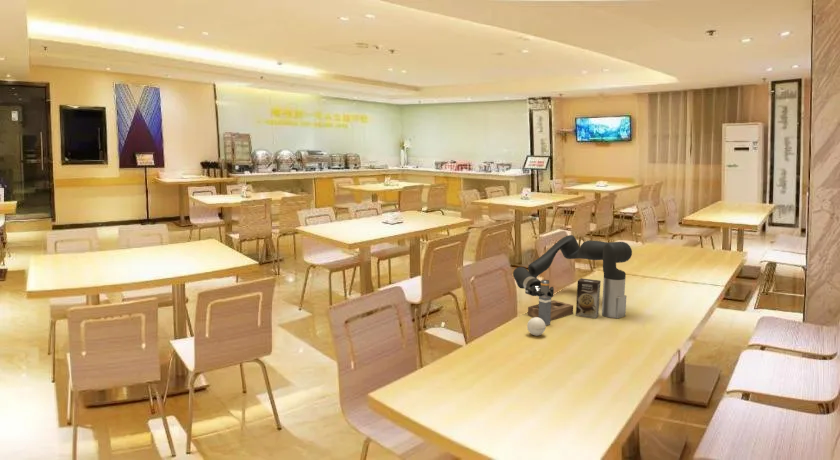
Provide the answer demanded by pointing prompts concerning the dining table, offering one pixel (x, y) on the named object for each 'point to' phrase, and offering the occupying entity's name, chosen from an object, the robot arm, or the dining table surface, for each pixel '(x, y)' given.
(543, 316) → the square bit
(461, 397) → the dining table surface
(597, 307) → the coffee box
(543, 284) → the cylinder
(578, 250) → the robot arm
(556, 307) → the block
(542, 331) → the seamed sphere
